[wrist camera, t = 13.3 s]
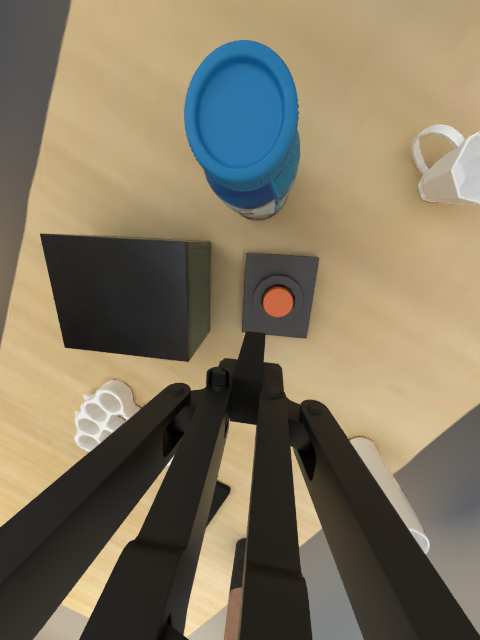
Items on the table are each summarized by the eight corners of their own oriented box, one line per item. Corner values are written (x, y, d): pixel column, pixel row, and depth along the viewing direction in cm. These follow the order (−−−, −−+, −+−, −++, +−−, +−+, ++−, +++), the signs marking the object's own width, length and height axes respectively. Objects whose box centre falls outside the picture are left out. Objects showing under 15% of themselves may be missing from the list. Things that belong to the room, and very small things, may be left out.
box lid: (70, 345, 32) (64, 347, 32) (46, 233, 28) (39, 233, 27) (190, 358, 31) (188, 362, 30) (188, 241, 26) (185, 241, 25)
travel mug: (243, 532, 56) (229, 681, 37) (271, 546, 56) (271, 701, 37) (230, 548, 58) (210, 694, 40) (257, 561, 59) (249, 712, 40)
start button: (264, 285, 32) (264, 287, 31) (293, 287, 32) (295, 289, 30) (262, 312, 34) (261, 316, 32) (290, 314, 33) (291, 318, 32)
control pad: (247, 252, 35) (244, 254, 31) (316, 256, 34) (321, 258, 30) (243, 327, 39) (240, 336, 35) (304, 333, 38) (308, 343, 34)
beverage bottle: (301, 197, 31) (344, 134, 13) (249, 234, 34) (221, 226, 15) (269, 136, 30) (263, -39, 11) (216, 180, 32) (138, 96, 13)
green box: (119, 322, 42) (75, 345, 32) (108, 235, 37) (53, 234, 28) (209, 331, 40) (191, 358, 31) (210, 241, 35) (188, 241, 26)
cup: (431, 226, 31) (483, 221, 23) (376, 174, 30) (412, 151, 22) (482, 176, 28) (559, 153, 21) (425, 118, 27) (483, 72, 20)
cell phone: (169, 515, 57) (167, 520, 56) (194, 470, 51) (193, 474, 50) (201, 530, 57) (200, 535, 56) (231, 487, 51) (230, 492, 50)
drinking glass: (386, 451, 43) (441, 554, 29) (352, 465, 45) (389, 567, 31) (366, 426, 42) (414, 521, 28) (333, 441, 44) (361, 537, 30)
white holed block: (129, 457, 52) (72, 423, 52) (162, 405, 46) (98, 366, 45) (120, 471, 49) (59, 435, 48) (154, 417, 43) (85, 376, 42)
